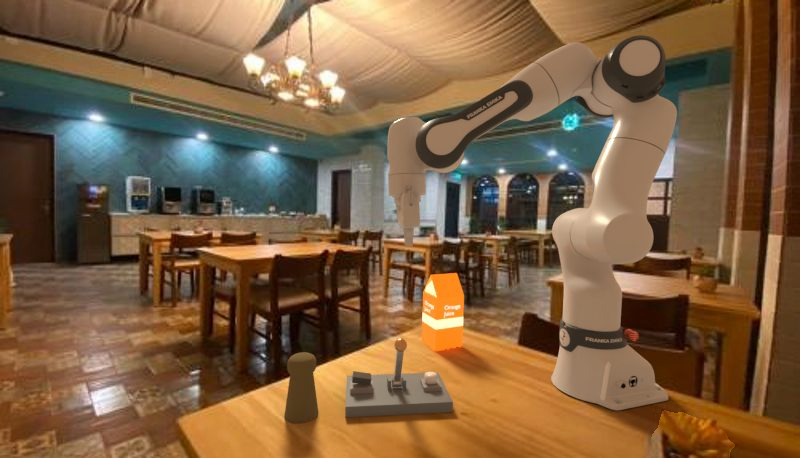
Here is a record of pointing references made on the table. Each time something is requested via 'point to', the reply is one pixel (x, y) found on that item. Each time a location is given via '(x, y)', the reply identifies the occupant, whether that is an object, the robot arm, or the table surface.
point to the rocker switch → (361, 378)
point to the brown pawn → (301, 389)
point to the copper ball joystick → (398, 361)
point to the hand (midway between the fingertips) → (408, 246)
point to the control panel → (396, 396)
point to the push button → (430, 378)
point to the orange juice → (443, 312)
